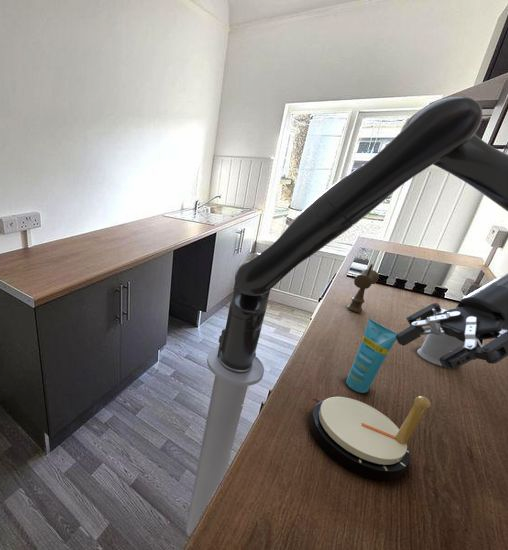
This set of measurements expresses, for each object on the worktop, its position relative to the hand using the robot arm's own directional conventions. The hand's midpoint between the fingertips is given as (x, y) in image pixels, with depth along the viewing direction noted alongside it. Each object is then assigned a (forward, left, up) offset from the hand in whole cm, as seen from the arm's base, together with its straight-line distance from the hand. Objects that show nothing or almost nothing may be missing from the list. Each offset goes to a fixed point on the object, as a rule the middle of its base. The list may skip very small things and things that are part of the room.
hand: (419, 352), depth 52 cm
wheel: (-2, -1, -22) cm, 22 cm away
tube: (-11, +17, -25) cm, 32 cm away
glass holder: (-7, +57, -25) cm, 62 cm away
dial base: (-2, -1, -25) cm, 25 cm away
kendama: (-36, +62, -25) cm, 76 cm away
